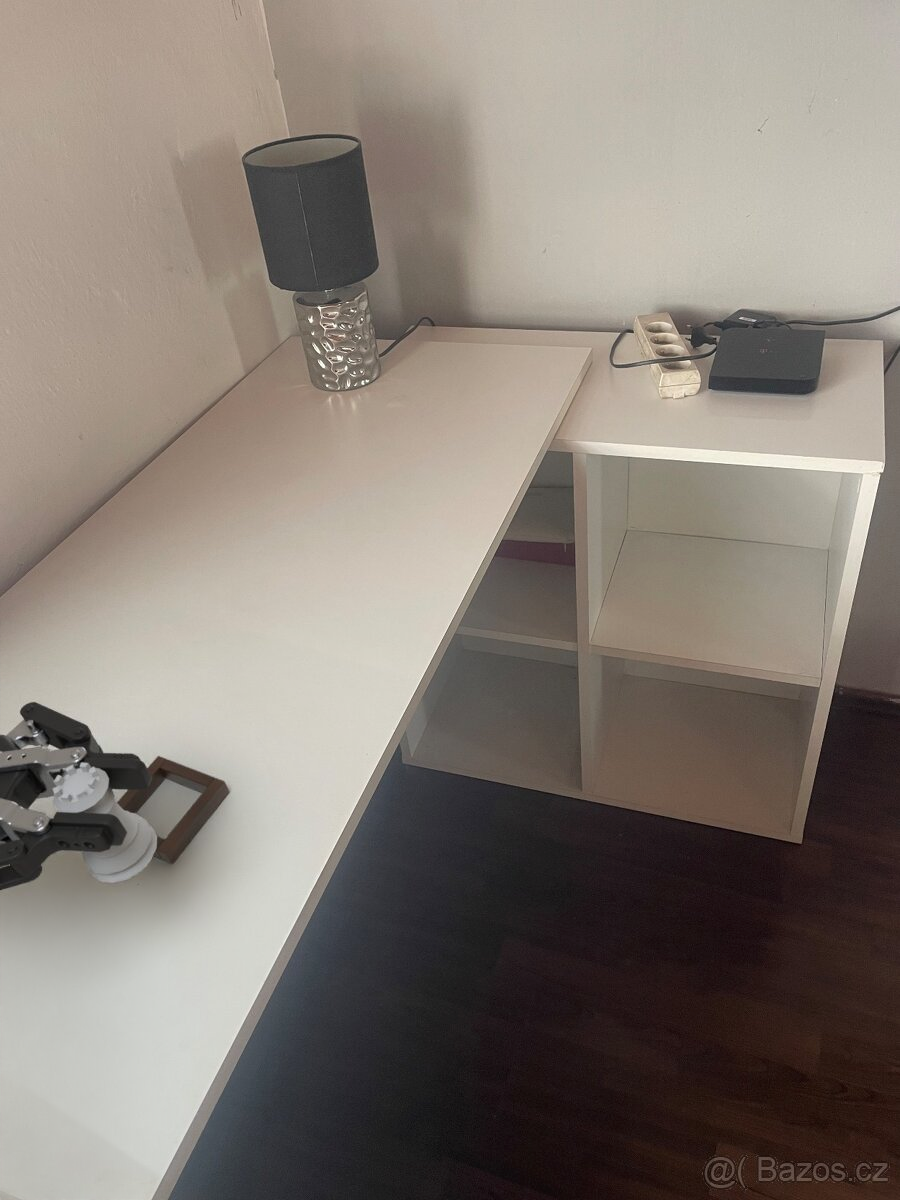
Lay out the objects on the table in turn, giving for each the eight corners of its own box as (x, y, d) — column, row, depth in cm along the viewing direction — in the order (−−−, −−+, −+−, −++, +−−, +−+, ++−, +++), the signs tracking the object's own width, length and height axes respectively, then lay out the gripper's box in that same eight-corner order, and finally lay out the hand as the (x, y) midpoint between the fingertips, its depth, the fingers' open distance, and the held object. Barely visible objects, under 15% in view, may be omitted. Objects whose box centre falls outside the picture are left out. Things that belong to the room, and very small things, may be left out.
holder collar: (172, 864, 66) (165, 853, 65) (105, 834, 69) (97, 823, 68) (230, 791, 71) (224, 780, 70) (164, 766, 74) (158, 755, 73)
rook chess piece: (75, 875, 55) (18, 801, 50) (119, 818, 58) (70, 742, 52) (131, 895, 53) (79, 821, 48) (173, 835, 56) (128, 758, 51)
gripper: (-240, 861, 46) (52, 875, 43) (-88, 669, 57) (156, 670, 54) (-158, 930, 51) (109, 946, 48) (-32, 742, 62) (194, 746, 59)
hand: (132, 801), depth 51 cm, fingers closed on rook chess piece, 3 cm apart
